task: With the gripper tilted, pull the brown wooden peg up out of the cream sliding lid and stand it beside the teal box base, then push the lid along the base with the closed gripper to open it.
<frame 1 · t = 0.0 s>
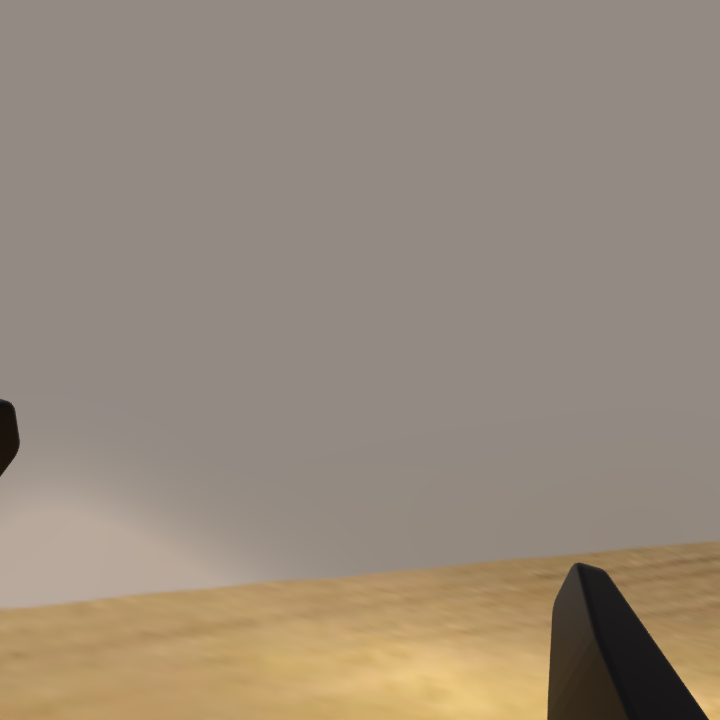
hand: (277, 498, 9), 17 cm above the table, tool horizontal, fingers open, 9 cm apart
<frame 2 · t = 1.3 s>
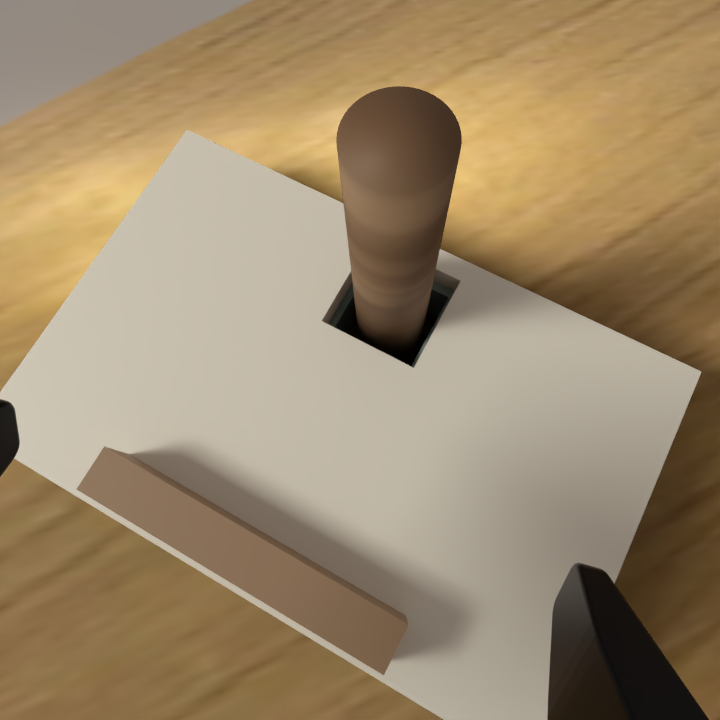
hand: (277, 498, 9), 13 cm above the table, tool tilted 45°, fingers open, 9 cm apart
teal box base: (341, 422, 23), on the table
lid: (333, 399, 19), point 4 cm above the table, slide at 0.0 cm
brown wooden peg: (389, 334, 24), resting in teal box base
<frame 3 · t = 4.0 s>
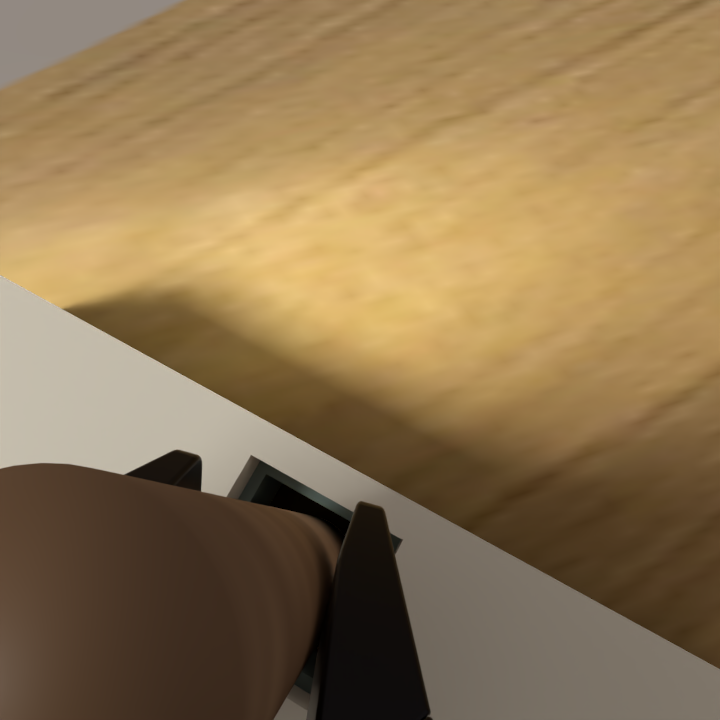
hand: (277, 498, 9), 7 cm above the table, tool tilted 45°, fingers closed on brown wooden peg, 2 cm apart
brown wooden peg: (304, 566, 15), resting in teal box base, touching gripper
when the fingers open (8 cm above the table, at t = 8.2 s): brown wooden peg drops 1 cm, on the table.
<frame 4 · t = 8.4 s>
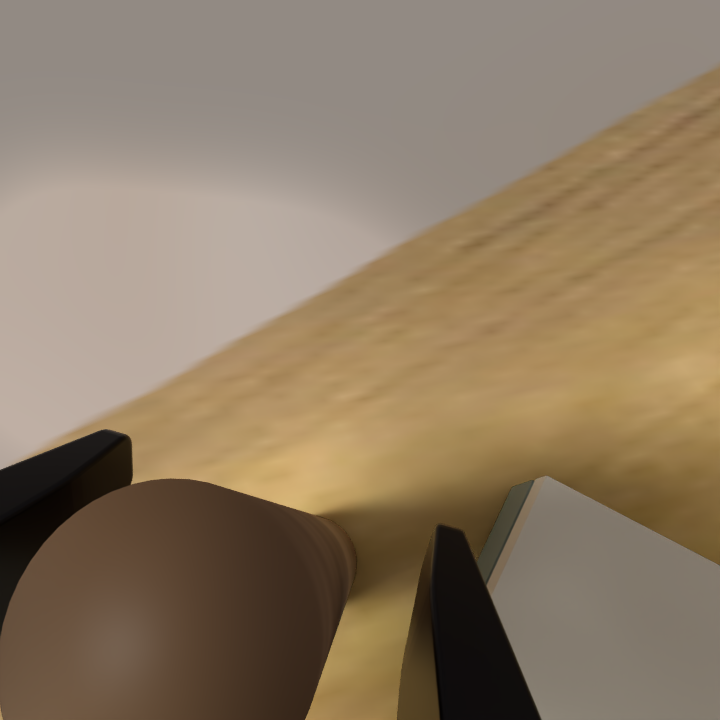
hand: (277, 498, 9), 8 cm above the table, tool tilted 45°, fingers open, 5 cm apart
brown wooden peg: (311, 563, 17), on the table
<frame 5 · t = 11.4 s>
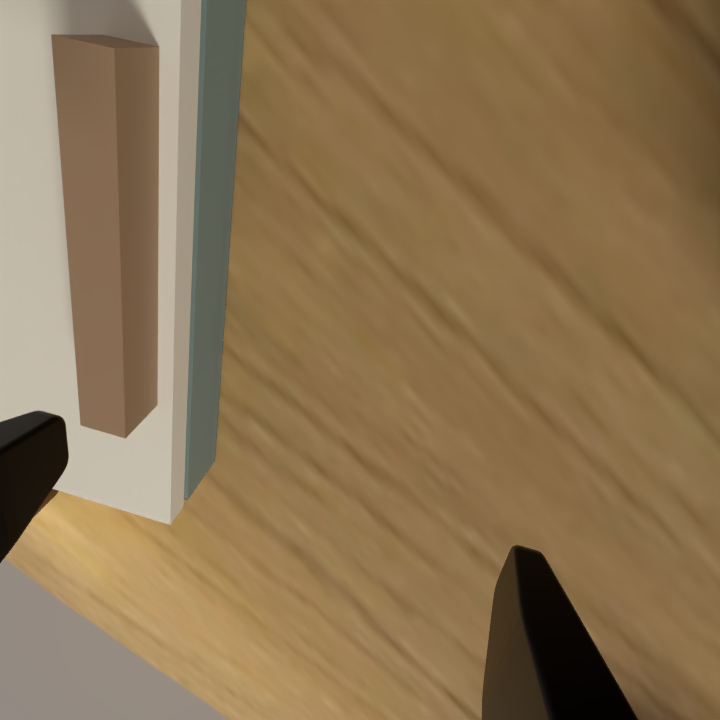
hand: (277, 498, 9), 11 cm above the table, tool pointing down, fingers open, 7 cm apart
teal box base: (46, 176, 20), on the table
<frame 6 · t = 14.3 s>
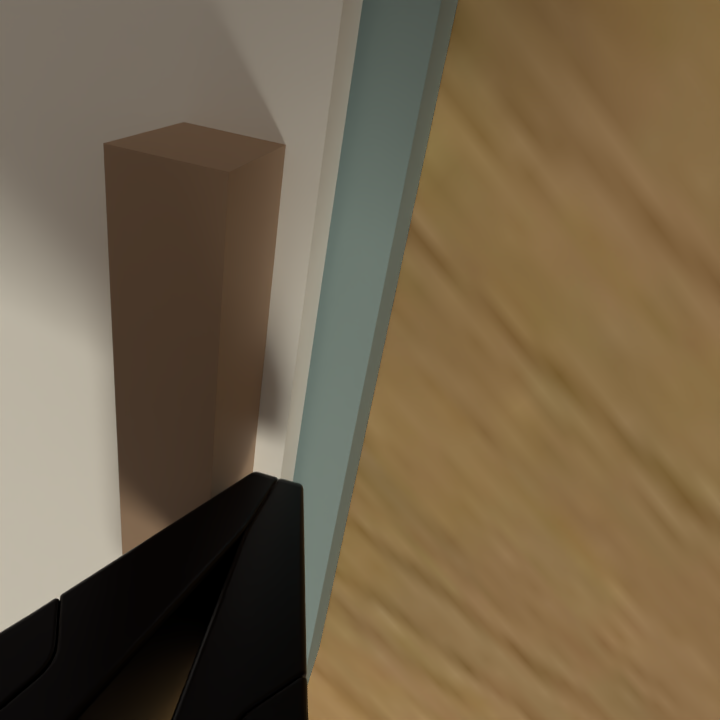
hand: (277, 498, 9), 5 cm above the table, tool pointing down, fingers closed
teal box base: (107, 296, 14), on the table
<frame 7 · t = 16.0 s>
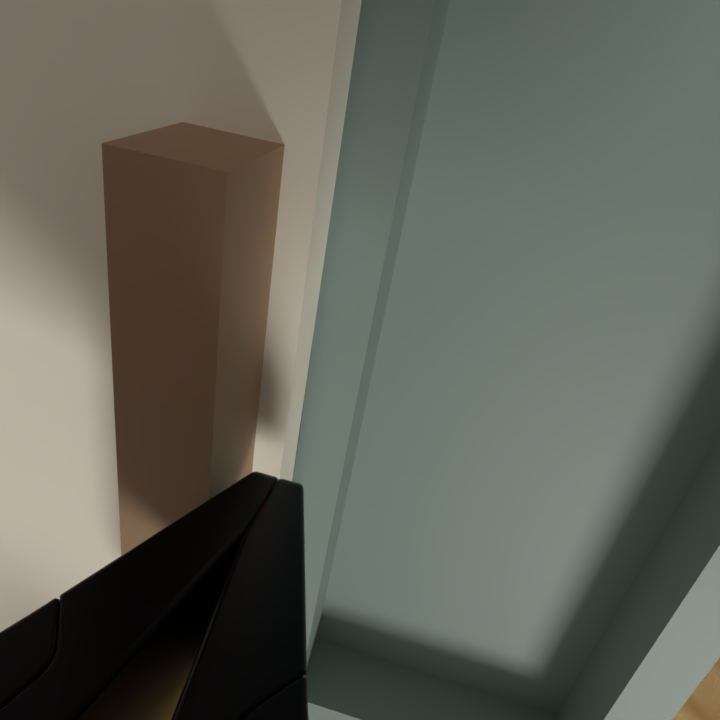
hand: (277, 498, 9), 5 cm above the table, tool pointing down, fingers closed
teal box base: (443, 383, 13), on the table
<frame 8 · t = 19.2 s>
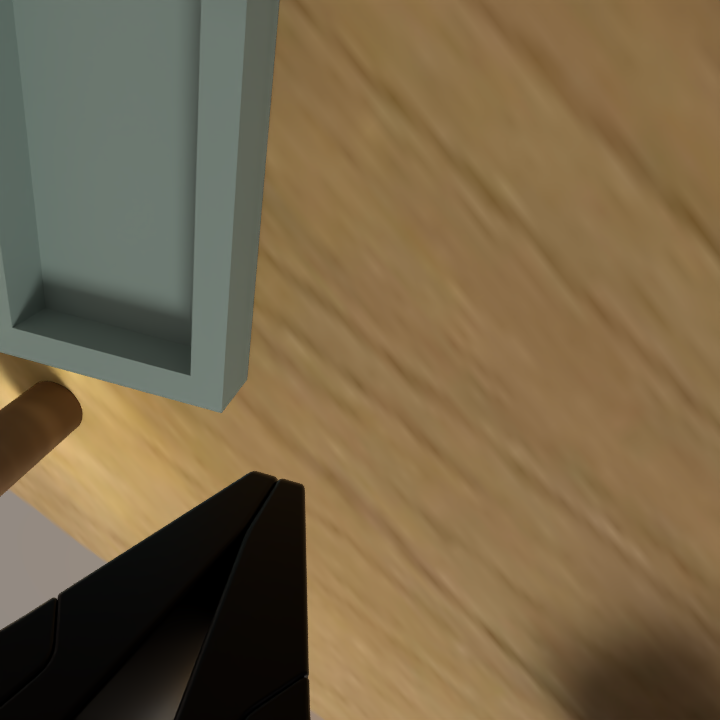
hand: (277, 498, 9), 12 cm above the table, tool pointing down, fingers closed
teal box base: (74, 62, 19), on the table
brown wooden peg: (56, 406, 26), on the table
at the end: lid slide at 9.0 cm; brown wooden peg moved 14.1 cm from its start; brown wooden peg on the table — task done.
